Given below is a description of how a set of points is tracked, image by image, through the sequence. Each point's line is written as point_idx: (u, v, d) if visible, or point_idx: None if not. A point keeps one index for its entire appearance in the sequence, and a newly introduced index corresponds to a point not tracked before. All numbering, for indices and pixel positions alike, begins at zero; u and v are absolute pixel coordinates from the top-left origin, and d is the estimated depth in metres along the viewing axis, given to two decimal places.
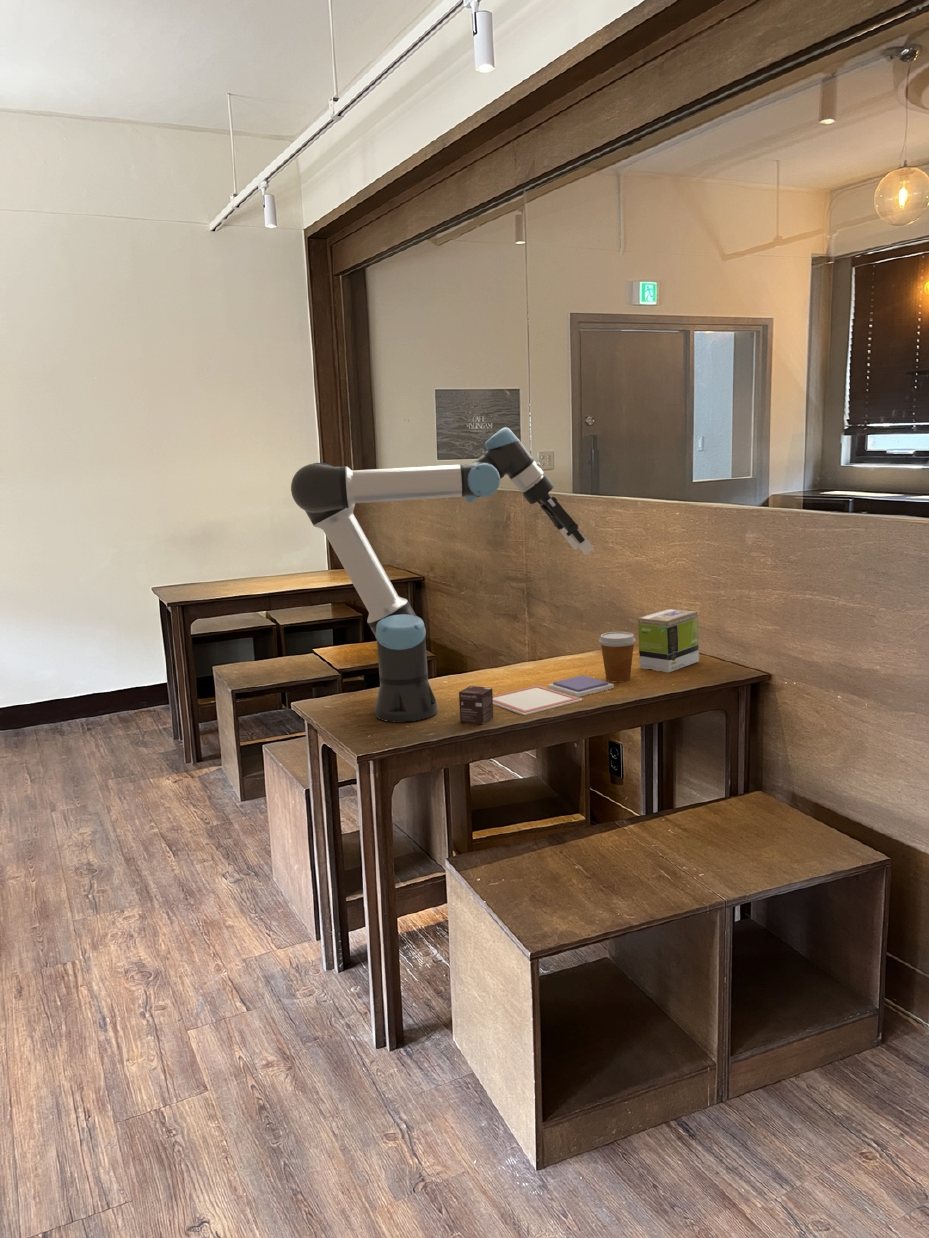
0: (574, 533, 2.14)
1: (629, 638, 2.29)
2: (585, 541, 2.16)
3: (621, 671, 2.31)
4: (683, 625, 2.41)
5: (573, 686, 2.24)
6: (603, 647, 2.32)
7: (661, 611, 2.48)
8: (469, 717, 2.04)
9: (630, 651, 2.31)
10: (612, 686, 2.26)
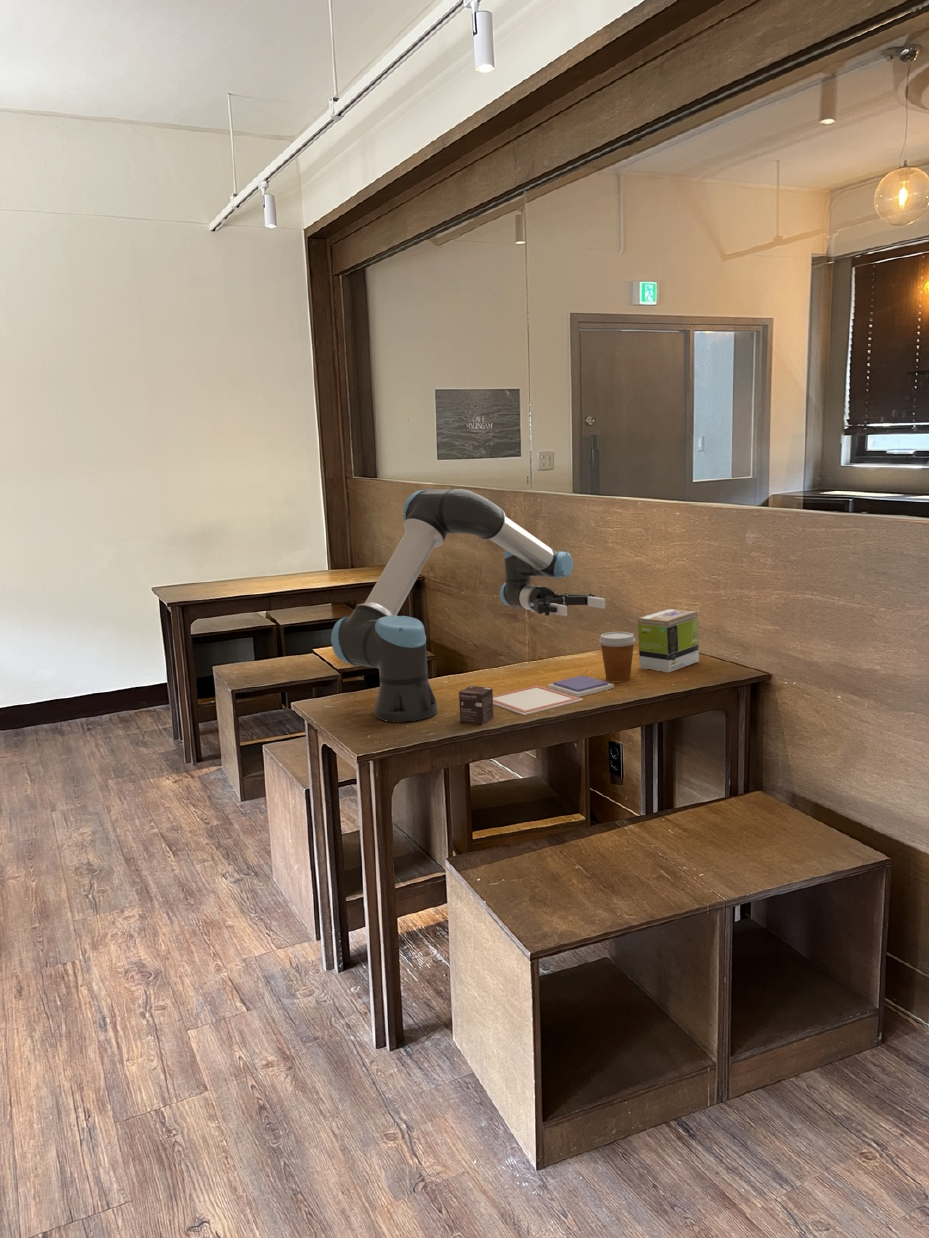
0: None
1: (629, 638, 2.29)
2: None
3: (621, 671, 2.31)
4: (683, 625, 2.41)
5: (573, 686, 2.24)
6: (603, 647, 2.32)
7: (661, 611, 2.48)
8: (469, 717, 2.04)
9: (630, 651, 2.31)
10: (612, 686, 2.26)
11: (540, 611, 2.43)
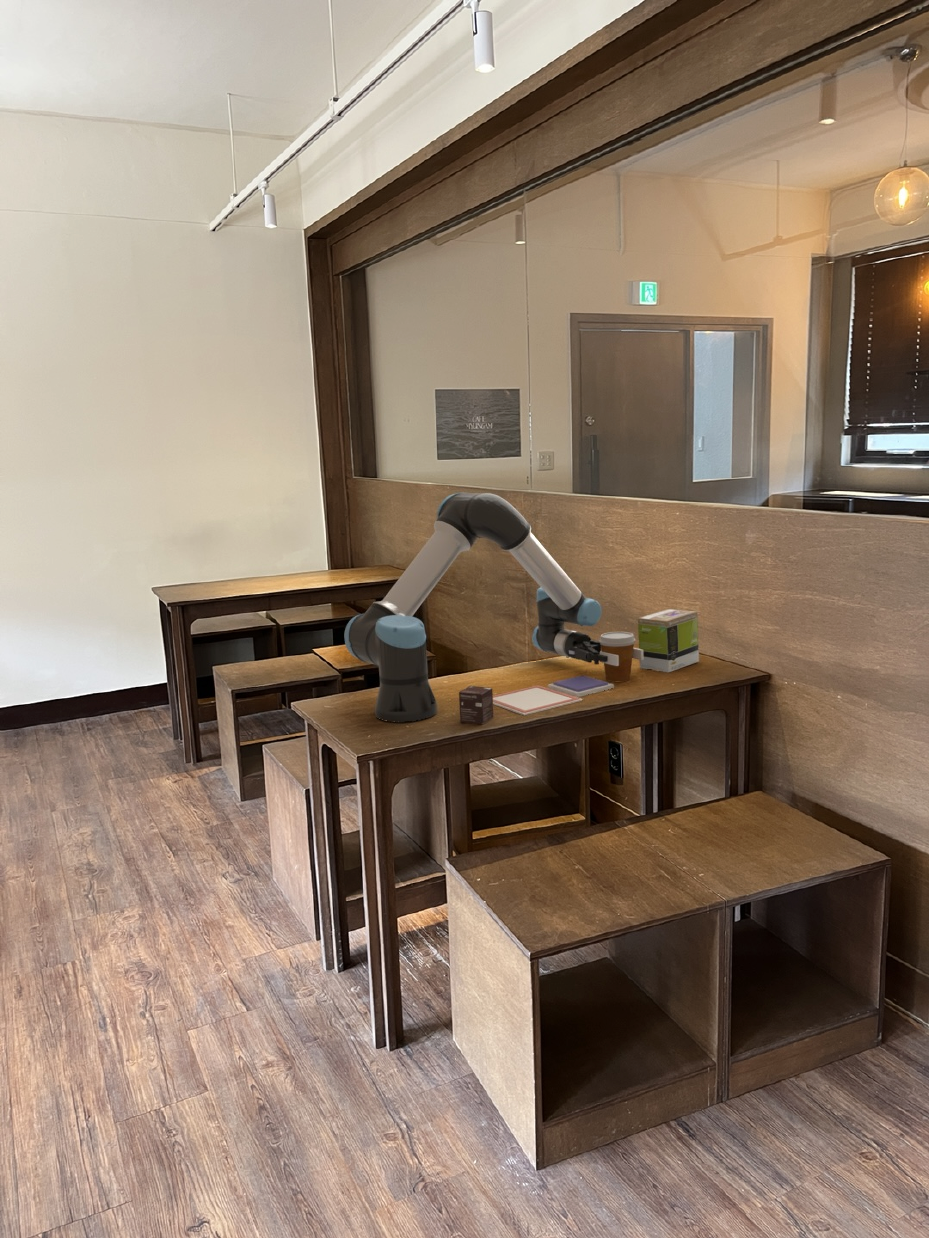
0: None
1: (629, 638, 2.29)
2: None
3: (621, 671, 2.31)
4: (683, 625, 2.41)
5: (573, 686, 2.24)
6: (603, 647, 2.32)
7: (661, 611, 2.48)
8: (469, 717, 2.04)
9: (630, 651, 2.31)
10: (612, 686, 2.26)
11: (590, 660, 2.32)
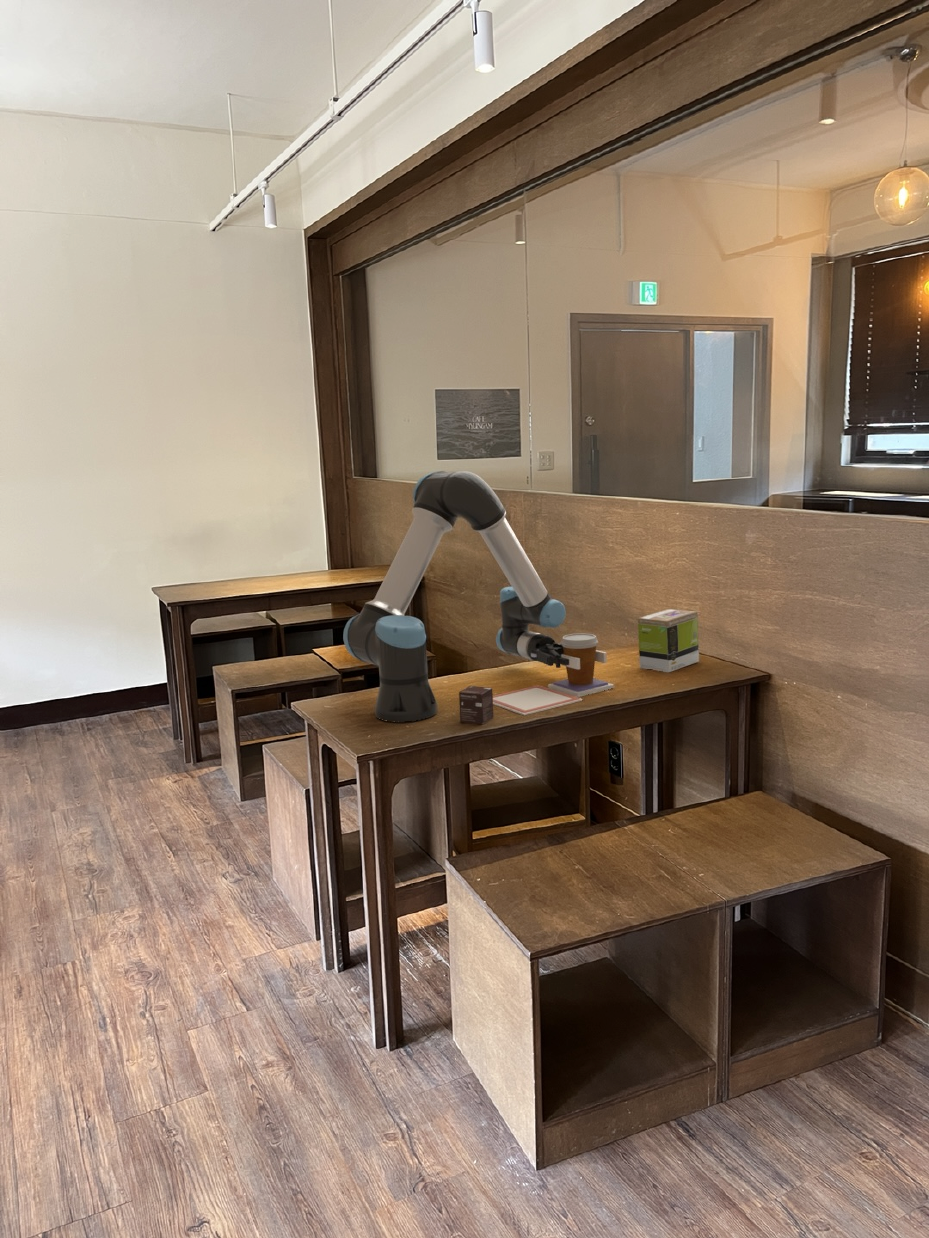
0: None
1: (591, 640, 2.22)
2: None
3: (583, 674, 2.24)
4: (683, 625, 2.41)
5: (573, 686, 2.24)
6: (565, 649, 2.25)
7: (661, 611, 2.48)
8: (469, 717, 2.04)
9: (592, 653, 2.23)
10: (612, 686, 2.26)
11: (551, 663, 2.25)
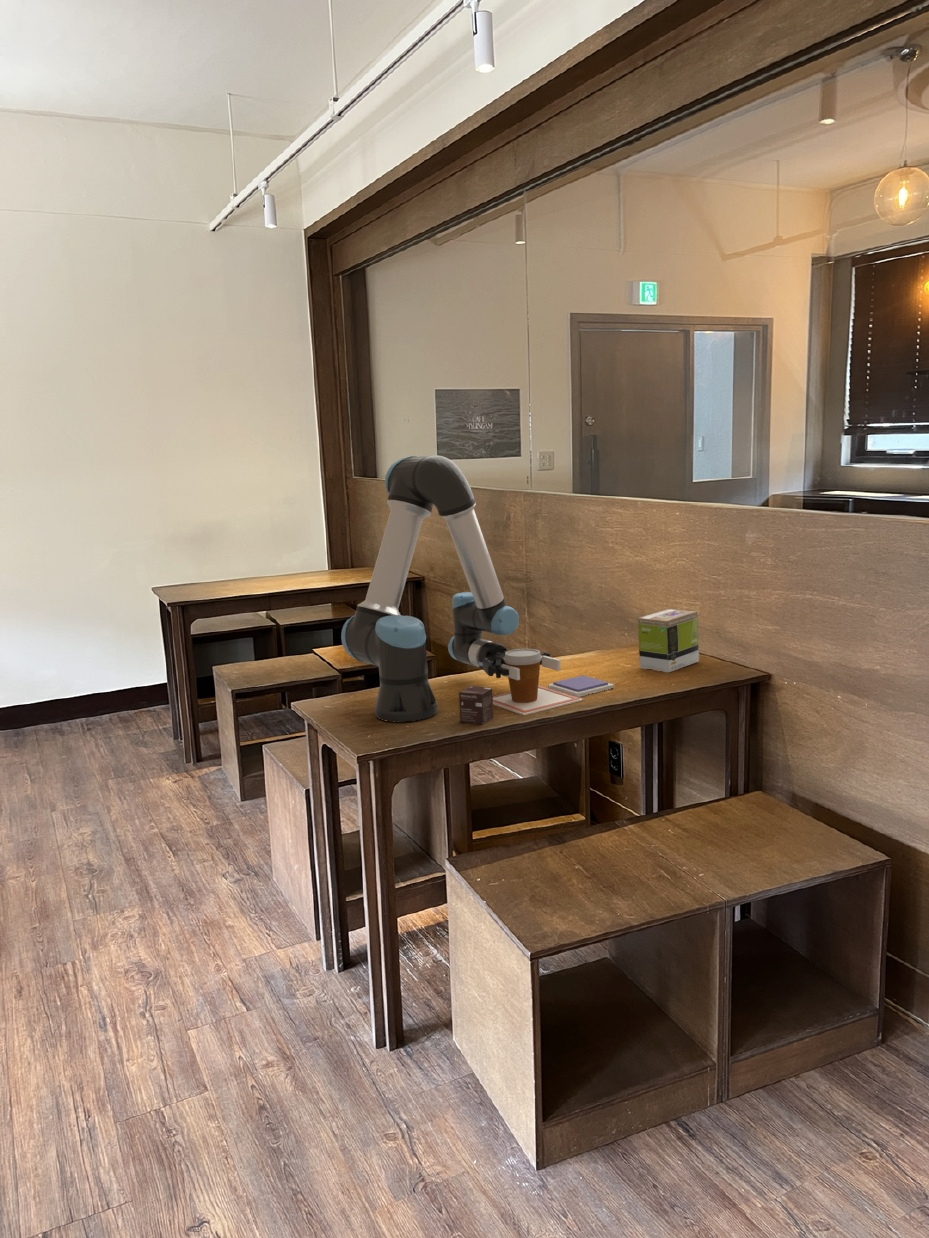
0: None
1: (533, 656, 2.13)
2: None
3: (525, 691, 2.15)
4: (683, 625, 2.41)
5: (573, 686, 2.24)
6: None
7: (661, 611, 2.48)
8: (469, 717, 2.04)
9: (535, 670, 2.15)
10: (612, 686, 2.26)
11: (490, 673, 2.16)
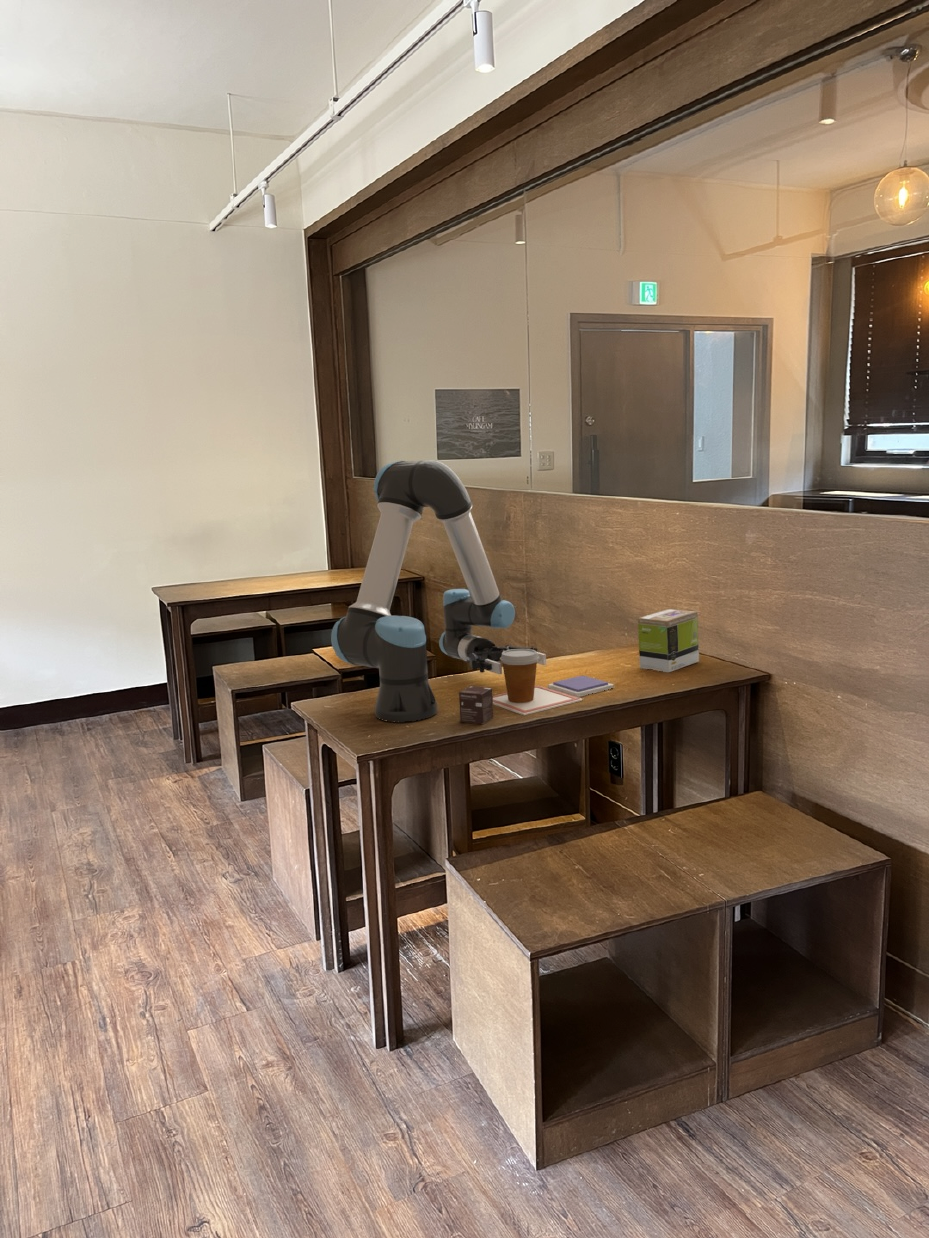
0: None
1: (528, 656, 2.13)
2: None
3: (520, 691, 2.15)
4: (683, 625, 2.41)
5: (573, 686, 2.24)
6: (503, 665, 2.17)
7: (661, 611, 2.48)
8: (469, 717, 2.04)
9: (530, 670, 2.15)
10: (612, 686, 2.26)
11: (474, 668, 2.22)
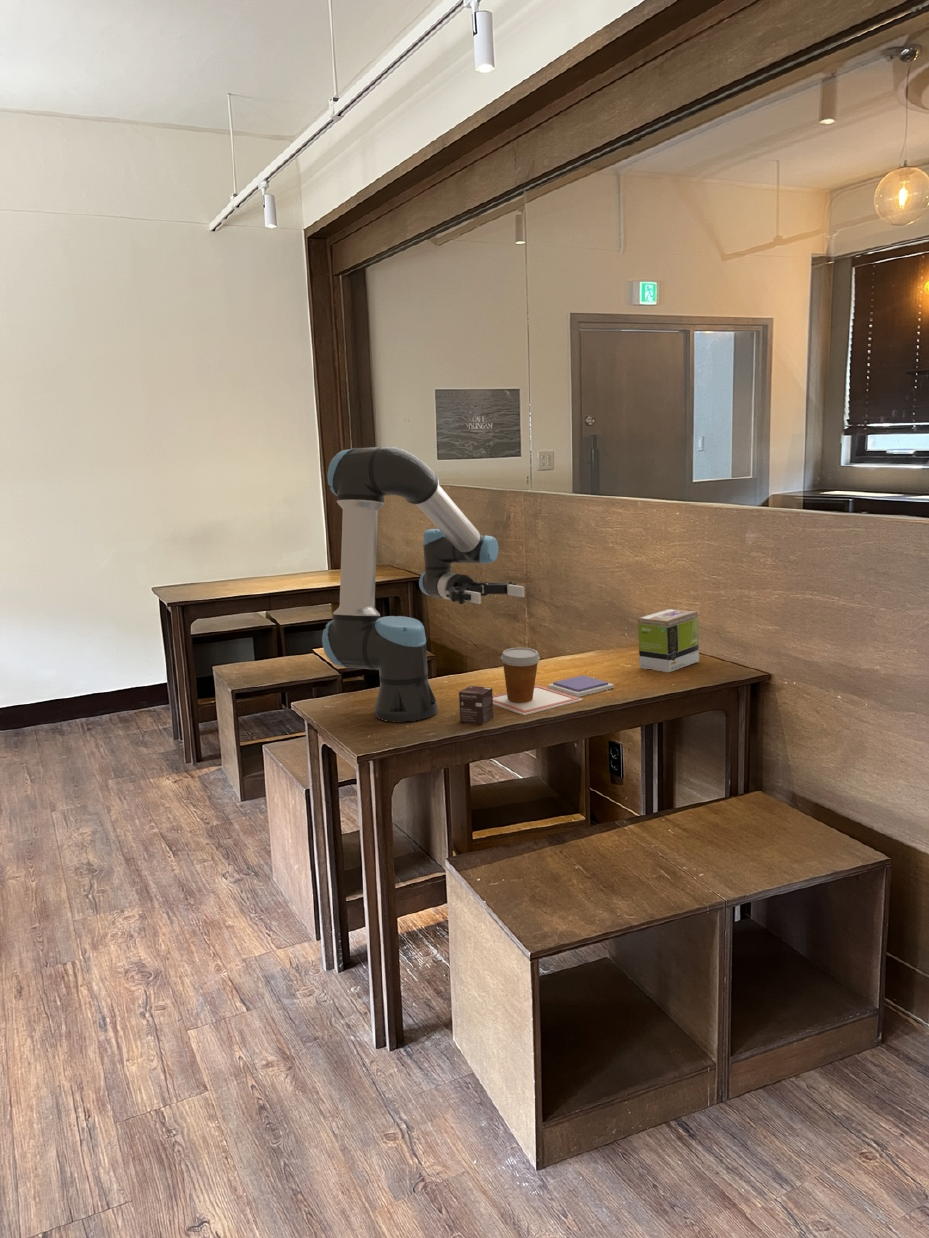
0: None
1: (529, 658, 2.12)
2: None
3: (519, 692, 2.15)
4: (683, 625, 2.41)
5: (573, 686, 2.24)
6: (503, 664, 2.16)
7: (661, 611, 2.48)
8: (469, 717, 2.04)
9: (530, 672, 2.14)
10: (612, 686, 2.26)
11: (453, 599, 2.25)
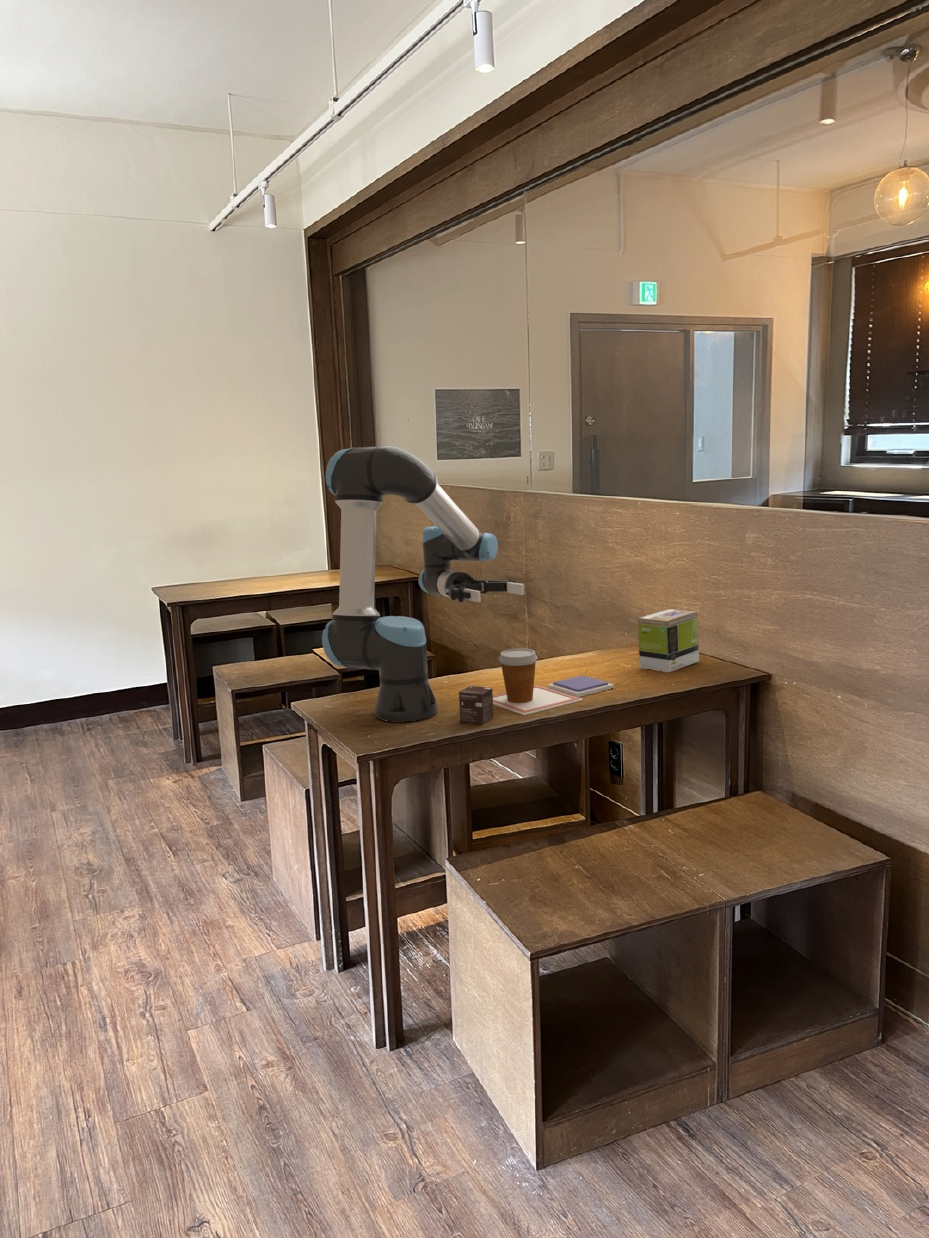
0: None
1: (526, 657, 2.13)
2: None
3: (518, 692, 2.15)
4: (683, 625, 2.41)
5: (573, 686, 2.24)
6: (501, 665, 2.17)
7: (661, 611, 2.48)
8: (469, 717, 2.04)
9: (528, 671, 2.14)
10: (612, 686, 2.26)
11: (453, 597, 2.25)
